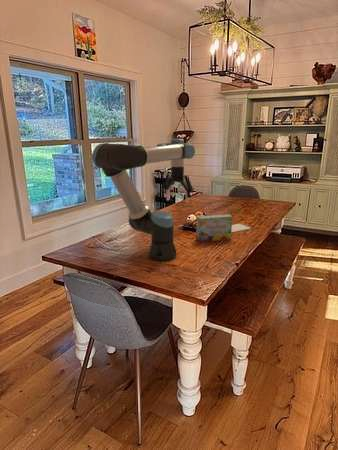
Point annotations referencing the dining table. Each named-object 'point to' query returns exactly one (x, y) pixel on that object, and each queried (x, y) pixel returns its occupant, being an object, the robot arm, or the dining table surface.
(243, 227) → the rest mat
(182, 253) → the dining table surface
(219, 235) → the snack box
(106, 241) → the dining table surface
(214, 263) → the dining table surface
